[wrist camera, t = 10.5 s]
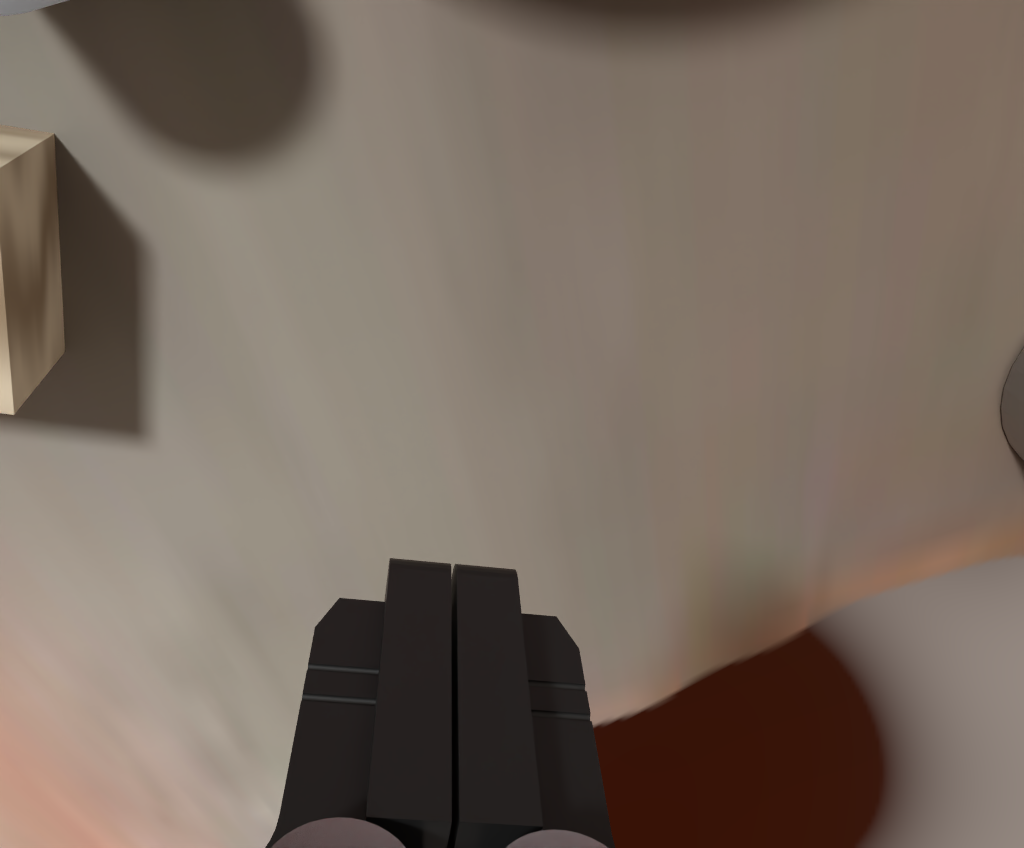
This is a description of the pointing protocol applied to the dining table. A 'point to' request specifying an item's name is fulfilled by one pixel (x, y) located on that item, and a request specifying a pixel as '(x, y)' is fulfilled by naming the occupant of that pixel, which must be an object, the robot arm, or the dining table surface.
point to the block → (28, 264)
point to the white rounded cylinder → (24, 6)
